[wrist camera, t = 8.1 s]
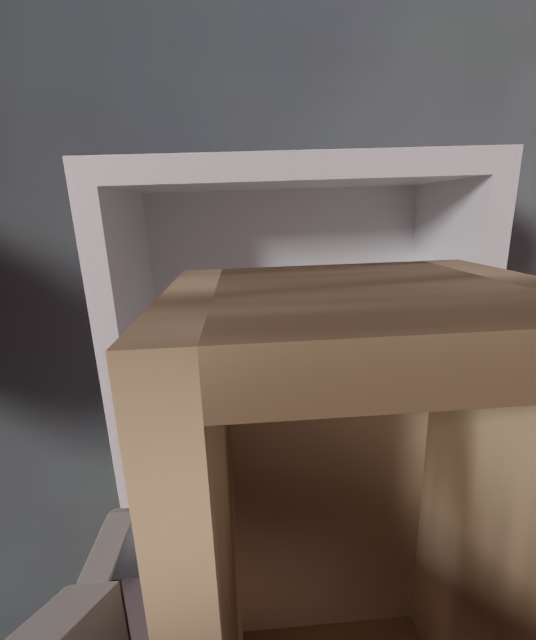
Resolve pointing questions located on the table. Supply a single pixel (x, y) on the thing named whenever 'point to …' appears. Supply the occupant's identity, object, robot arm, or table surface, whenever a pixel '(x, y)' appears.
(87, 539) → the table surface
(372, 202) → the grey crate
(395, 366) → the birch crate
